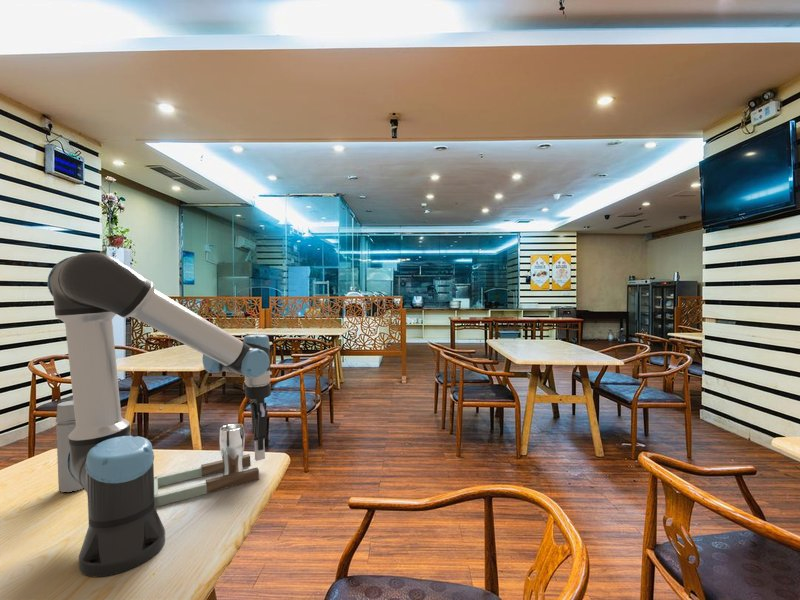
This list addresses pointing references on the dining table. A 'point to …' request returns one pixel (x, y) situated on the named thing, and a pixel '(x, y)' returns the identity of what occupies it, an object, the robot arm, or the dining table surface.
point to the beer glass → (232, 448)
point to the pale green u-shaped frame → (179, 493)
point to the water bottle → (65, 445)
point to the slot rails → (228, 479)
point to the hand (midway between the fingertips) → (260, 458)
